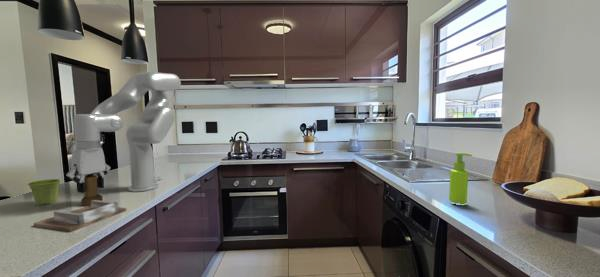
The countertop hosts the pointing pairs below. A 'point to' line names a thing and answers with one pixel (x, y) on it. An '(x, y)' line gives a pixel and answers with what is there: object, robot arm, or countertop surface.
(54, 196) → the plant pot
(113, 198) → the countertop surface
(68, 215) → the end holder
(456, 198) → the soap dispenser
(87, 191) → the wooden chess pawn
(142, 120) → the robot arm
